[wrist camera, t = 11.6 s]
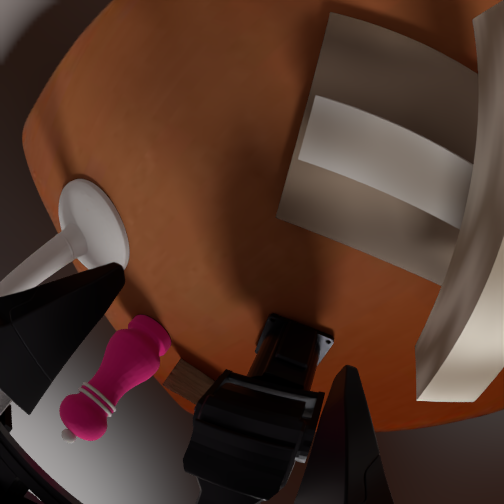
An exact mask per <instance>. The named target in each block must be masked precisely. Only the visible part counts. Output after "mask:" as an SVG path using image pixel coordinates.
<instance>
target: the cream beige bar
mask: <svg viewBox="0 0 504 504" xmlns="http://www.w3.org/2000/svg"><path fill="white" fill-rule="evenodd" d="M472 20H473V27H474V33H475V41H476V50H477V62H478V84H479V103H478V126H477V139H476V148H475V157H474V164H473V171H472V177H471V183H470V188H469V193H468V198H467V203H466V207H465V212H464V216H463V220H462V224H461V228H460V231H459V235H458V239H457V242H456V245H455V249H454V252H453V255H452V258H451V261H450V264H449V267H448V270H447V273H446V276H445V279H444V281H443V284H442V287H441V289H440V292H439V294H438V297H437V299H436V302H435V304H434V306H433V309H432V311H431V313H430V316H429V318H428V320H427V322H426V325H425V327H424V329H423V331H422V333H421V335H420V337H419V339H418V341H417V343H416V345H415V355H416V382H417V401H438V402H474V401H475V400H476V399H477V398H478V397H479V396H480V394H481V393H482V392H483V391H484V390H485V389H486V388H487V387H488V385H489V384H490V383H491V382H492V381H493V379H494V378H495V377H496V376H497V375H498V373H499V372H500V371H501V369H502V368H503V367H504V0H503V1H501V2H499V3H498V4H496V5H495V6H493V7H491V8H490V9H488V10H486V11H485V12H483V13H482V14H480V15H478V16H477V17H475V18H474V19H472Z"/></svg>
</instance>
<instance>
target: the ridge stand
mask: <svg viewBox="0 0 504 504" xmlns="http://www.w3.org/2000/svg"><path fill="white" fill-rule="evenodd" d="M478 103H479V84H478V74H477V73H475V72H474V71H472V70H470V69H469V68H467V67H465V66H464V65H462V64H460V63H459V62H457V61H455V60H453V59H452V58H450V57H448V56H446V55H444V54H442V53H440V52H439V51H437V50H435V49H433V48H431V47H428V46H426V45H424V44H422V43H420V42H418V41H416V40H413V39H411V38H409V37H406V36H404V35H401V34H399V33H396V32H394V31H391V30H389V29H386V28H383V27H380V26H377V25H374V24H371V23H368V22H365V21H362V20H359V19H355V18H352V17H348V16H344V15H341V14H337V13H333V12H330V16H329V20H328V24H327V28H326V31H325V35H324V39H323V43H322V47H321V51H320V55H319V59H318V63H317V67H316V71H315V74H314V78H313V82H312V86H311V90H310V93H309V97H308V101H307V105H306V108H305V112H304V116H303V120H302V123H301V127H300V131H299V135H298V138H297V142H296V146H295V149H294V153H293V157H292V160H291V164H290V167H289V171H288V175H287V178H286V182H285V185H284V189H283V193H282V196H281V200H280V203H279V207H278V210H277V214H276V218H278V219H280V220H283V221H286V222H288V223H291V224H294V225H296V226H299V227H302V228H304V229H307V230H309V231H312V232H315V233H317V234H320V235H322V236H325V237H327V238H330V239H332V240H335V241H337V242H340V243H342V244H345V245H347V246H350V247H352V248H355V249H357V250H360V251H362V252H365V253H367V254H369V255H372V256H374V257H377V258H379V259H381V260H384V261H386V262H388V263H391V264H393V265H395V266H398V267H400V268H402V269H405V270H407V271H409V272H412V273H414V274H416V275H418V276H421V277H423V278H425V279H427V280H429V281H432V282H434V283H436V284H438V285H440V286H442V284H443V281H444V279H445V276H446V273H447V270H448V267H449V264H450V261H451V258H452V255H453V252H454V249H455V245H456V242H457V239H458V235H459V231H460V228H461V224H462V220H463V216H464V212H465V207H466V203H467V198H468V193H469V188H470V183H471V177H472V171H473V164H474V157H475V148H476V139H477V126H478Z"/></svg>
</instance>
